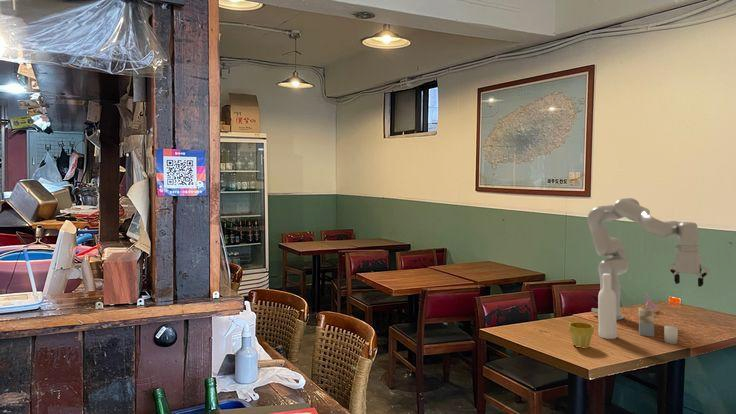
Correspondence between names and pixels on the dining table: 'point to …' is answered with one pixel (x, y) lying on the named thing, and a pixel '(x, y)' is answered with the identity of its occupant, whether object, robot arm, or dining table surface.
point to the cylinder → (671, 334)
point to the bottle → (607, 310)
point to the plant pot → (581, 333)
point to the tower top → (646, 315)
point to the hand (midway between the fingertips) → (688, 284)
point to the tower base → (646, 329)
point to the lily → (650, 303)
